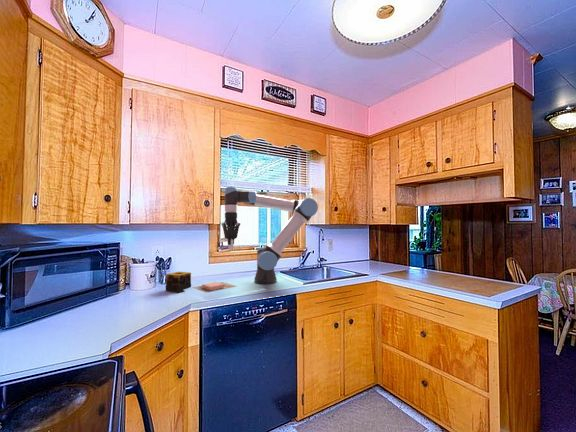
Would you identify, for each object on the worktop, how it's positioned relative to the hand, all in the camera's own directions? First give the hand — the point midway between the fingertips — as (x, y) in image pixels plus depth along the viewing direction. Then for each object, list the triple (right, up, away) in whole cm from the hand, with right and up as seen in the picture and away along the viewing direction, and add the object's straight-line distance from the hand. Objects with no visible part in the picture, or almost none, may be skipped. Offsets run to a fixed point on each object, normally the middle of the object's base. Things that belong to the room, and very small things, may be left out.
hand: (230, 249), depth 164 cm
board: (-8, -23, -6) cm, 25 cm away
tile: (-5, -20, -6) cm, 22 cm away
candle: (-28, -23, -10) cm, 38 cm away
